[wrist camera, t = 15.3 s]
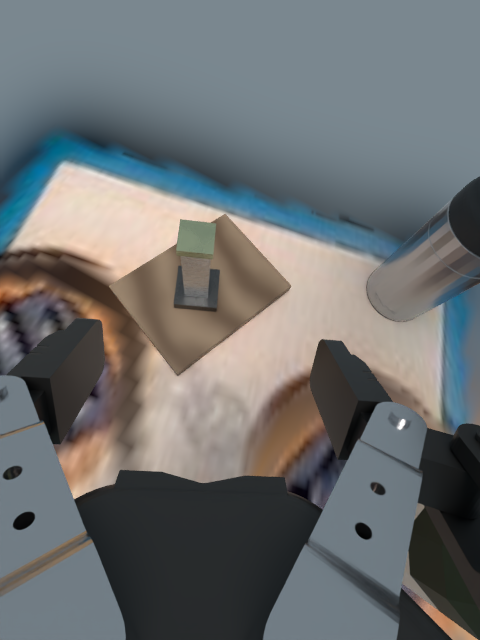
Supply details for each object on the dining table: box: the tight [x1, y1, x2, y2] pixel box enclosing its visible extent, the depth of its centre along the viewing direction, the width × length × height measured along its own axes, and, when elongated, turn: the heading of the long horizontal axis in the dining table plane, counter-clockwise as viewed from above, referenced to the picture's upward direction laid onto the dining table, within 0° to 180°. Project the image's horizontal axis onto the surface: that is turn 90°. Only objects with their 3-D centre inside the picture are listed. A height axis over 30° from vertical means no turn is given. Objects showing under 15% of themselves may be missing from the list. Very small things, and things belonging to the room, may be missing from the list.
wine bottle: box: [402, 503, 480, 640], centre depth 25 cm, size 8×8×30 cm
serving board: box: [109, 214, 291, 375], centre depth 45 cm, size 20×15×2 cm
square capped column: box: [174, 219, 220, 312], centre depth 38 cm, size 6×6×13 cm
